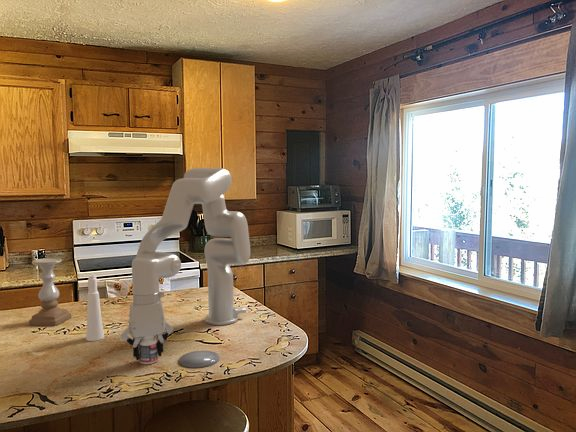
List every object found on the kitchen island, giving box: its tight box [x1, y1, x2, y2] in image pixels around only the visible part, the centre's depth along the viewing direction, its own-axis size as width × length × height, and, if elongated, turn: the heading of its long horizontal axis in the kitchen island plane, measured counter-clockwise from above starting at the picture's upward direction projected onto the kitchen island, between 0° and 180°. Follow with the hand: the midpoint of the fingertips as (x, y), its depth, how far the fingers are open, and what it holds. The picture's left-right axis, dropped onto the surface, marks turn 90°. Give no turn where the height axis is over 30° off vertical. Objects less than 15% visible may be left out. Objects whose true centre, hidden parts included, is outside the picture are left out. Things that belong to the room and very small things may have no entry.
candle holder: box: [28, 257, 72, 327], centre depth 185 cm, size 11×11×24 cm
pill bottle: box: [138, 335, 159, 365], centre depth 146 cm, size 5×5×9 cm
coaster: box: [178, 350, 220, 369], centre depth 147 cm, size 12×12×1 cm
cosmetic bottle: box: [85, 274, 105, 342], centre depth 166 cm, size 6×6×22 cm
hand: (148, 356), depth 146 cm, fingers open, 5 cm apart
